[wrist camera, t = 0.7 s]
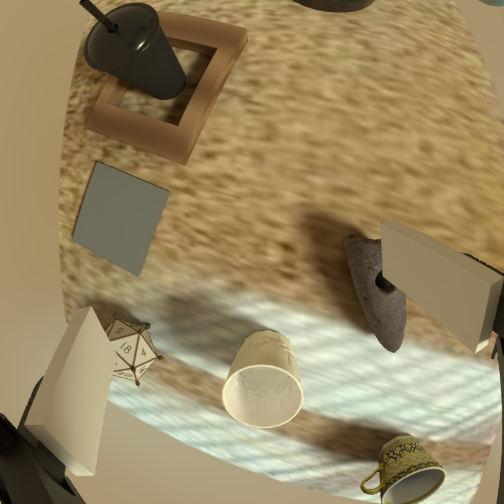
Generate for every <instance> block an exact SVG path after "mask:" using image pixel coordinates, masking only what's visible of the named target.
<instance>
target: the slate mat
mask: <svg viewBox="0 0 504 504" xmlns="http://www.w3.org/2000/svg"><path fill="white" fill-rule="evenodd" d="M169 194H170V191H167V190H165V189H163V188H160V187H158V186H156V185H153V184H151V183H149V182H146V181H144V180H141V179H139V178H137V177H134V176H132V175H130V174H127V173H125V172H122V171H120V170H118V169H115V168H113V167H110V166H108V165H106V164H103V163H101V162H97V164H96V166H95V169H94V172H93V174H92V177H91V180H90V183H89V186H88V189H87V192H86V195H85V198H84V201H83V204H82V207H81V211H80V214H79V217H78V221H77V224H76V228H75V231H74V235H73V239H72V240H73V241H74V242H76V243H78V244H80V245H81V246H83V247H85V248H87V249H88V250H90V251H92V252H94V253H96V254H97V255H99V256H101V257H103V258H105V259H106V260H108V261H110V262H112V263H114V264H116V265H118V266H119V267H121V268H123V269H125V270H127V271H129V272H131V273H133V274H135V275H136V276H138V275H140V273H141V270H142V267H143V264H144V261H145V258H146V255H147V252H148V250H149V247H150V244H151V241H152V238H153V236H154V233H155V230H156V228H157V225H158V222H159V220H160V217H161V214H162V212H163V209H164V207H165V204H166V202H167V199H168V197H169Z"/></svg>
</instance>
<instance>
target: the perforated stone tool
mask: <svg viewBox="0 0 504 504" xmlns="http://www.w3.org/2000/svg"><path fill="white" fill-rule="evenodd" d="M344 248H345V253H346V257H347V261H348V265H349V269H350V273H351V276H352V280H353V283H354V286H355V290H356V293H357V295H358V298H359V301H360V304H361V306H362V309H363V311H364V314H365V316H366V318H367V321H368V323H369V325H370V327H371V329H372V331H373V333H374V334H375V336H376V338H377V339H378V341H379V342H380V343H381V344H382V346H383V347H384V348H386V349H387V350H388V351H390V352H392V353H395V352H396V351H397V350H398V349H399V348H400V346H401V344H402V341H403V337H404V329H405V326H406V319H407V315H406V296H405V293H403V292H402V291H401V290H400V289H398V288H397V287H396V286H395V285H393V284H392V283H391V282H390V281H388V280H387V279H386V278H384V277H383V270H382V247H381V239H376V240H373V239H365V238H361V237H360V236H353V235H350V236H349V237H346V238H345V239H344Z"/></svg>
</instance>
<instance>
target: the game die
mask: <svg viewBox="0 0 504 504" xmlns="http://www.w3.org/2000/svg"><path fill="white" fill-rule="evenodd" d="M113 316H114V318H115V319H114V321H113V322H112V323H111V324H110V325H109V326H108V328H107V329H106V330H105V333H106V335H107V337H108V339H109V341H110V343H111V344H112V346H113V348H114V350H115V351H116V353H117V359H116V363H115V367H114V371H113V375H114V376H118V377H122V378H126V379H130V380H134V381H136V385H137V386H138V387H139V385H140V383H139V381H138V379H139V378H140V377H141V376H142V375H143V374H144V373H145V371H146V370H147V369H148V368H149V367H150V366H151V365H152V364H153V363H154V361H155V360H156V359H159V360H162V359H165V358H164V357H162V356H157V353H156V351H155V348H154V346H153V343H152V341H151V338H150V336H149V333H148V330H147V329H149V327H150V324H147V325H146V327H142V326H139V325H136V324H133V323H130V322H127V321H124V320H121V319H118V318H117V314H116V313H115V312H114V313H113Z"/></svg>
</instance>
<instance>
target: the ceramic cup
mask: <svg viewBox="0 0 504 504" xmlns="http://www.w3.org/2000/svg"><path fill="white" fill-rule="evenodd" d="M378 459H379V467H378V469H376V470H375V471H374V472H373V473H372V474H371V475H370V476H369V477H367V478H366V479H364V480H363V481H362V483H361V486H360V487H361V490H362V491H363V492H364V493H366V494H369V495H373V494H377V493H378V492H380V496H381V503H382V504H418V503H420V502H422V501H424V500H425V499H427V498H428V497H430V496H431V495H433V494H434V493H435V492H436V491H437V490H438V489H439V488H440V487H441V486H442V484H443V483H444V481H445V478H446V471H445V470H444V469H443V467H442V466H441V465H440V464H439V463H438V462H437V461H436V460H435V459H434V458H433V457H432V456H431V455H430V454H428V453H427V452H426V451H425V450H424V448H423V447H422V446H421V445H420V444H419V443H418V442H417V440H416V439H415V438H414V437H413V436H412V435H404V436H396V437H395V438H393V439H392V440H390V441H388V442H387V443H385V444H384V445H383V446H382V448H381V450H380V452H379V455H378ZM377 472H380V485H379V486H378V487H377V488H375V489H366V488H365V487H364V486H363V484H364V483H365V482H366V481H368V480H369V479H370V478H372V477H373V476H374V475H375V473H377Z"/></svg>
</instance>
